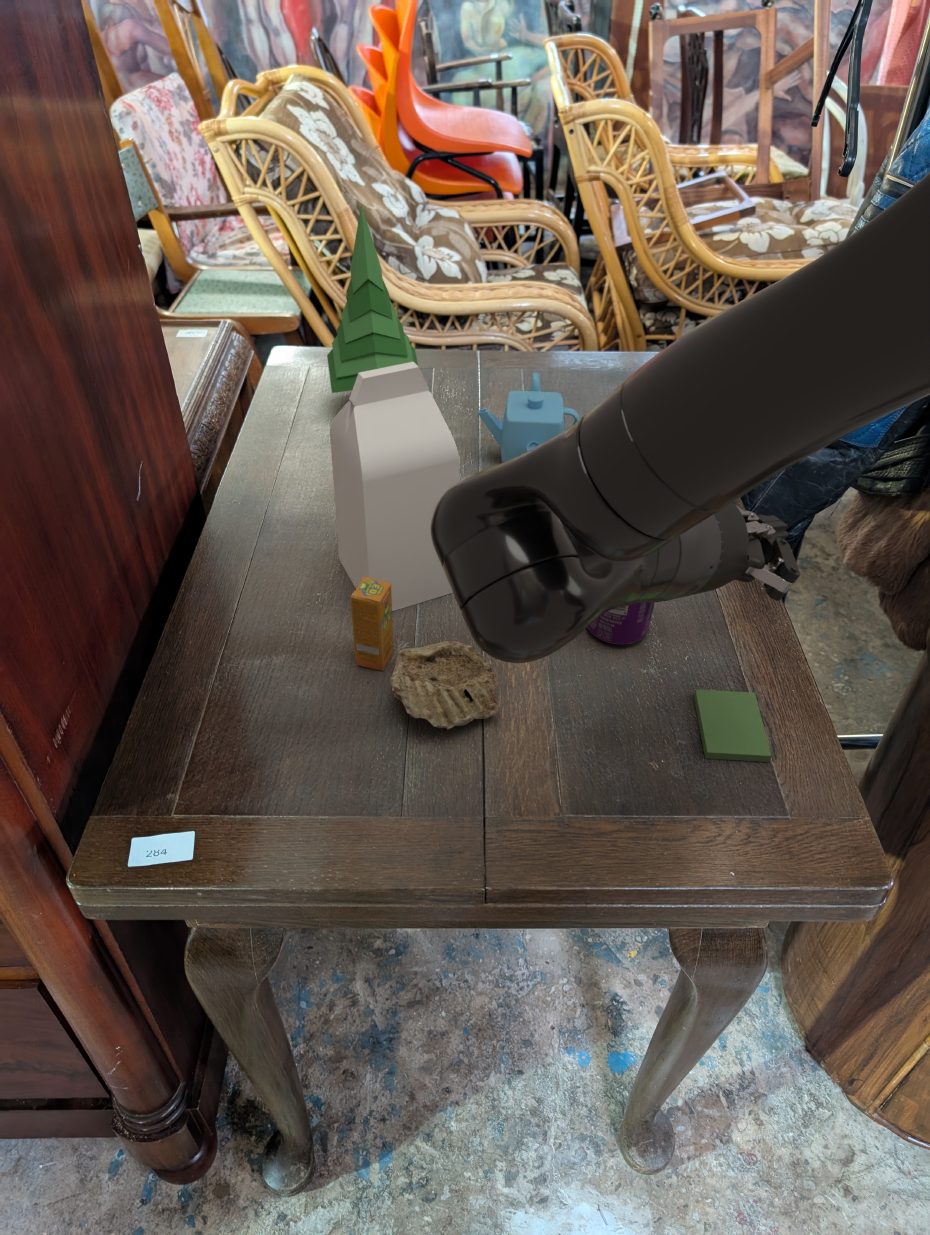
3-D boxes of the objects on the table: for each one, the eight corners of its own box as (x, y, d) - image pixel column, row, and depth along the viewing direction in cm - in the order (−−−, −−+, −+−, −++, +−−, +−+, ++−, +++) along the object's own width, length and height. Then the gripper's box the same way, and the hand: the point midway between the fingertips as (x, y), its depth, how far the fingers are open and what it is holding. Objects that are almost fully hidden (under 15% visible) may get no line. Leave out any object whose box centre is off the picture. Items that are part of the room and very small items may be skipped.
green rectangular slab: (768, 762, 75) (771, 755, 75) (705, 758, 76) (707, 752, 75) (752, 698, 81) (755, 692, 80) (693, 695, 81) (695, 689, 81)
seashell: (490, 752, 80) (509, 659, 83) (493, 736, 73) (514, 636, 77) (381, 728, 80) (405, 638, 84) (375, 710, 74) (401, 613, 78)
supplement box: (385, 673, 84) (379, 602, 77) (355, 666, 84) (346, 595, 78) (396, 651, 86) (391, 581, 79) (367, 645, 87) (359, 574, 80)
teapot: (576, 497, 108) (584, 431, 101) (473, 492, 108) (474, 426, 101) (573, 430, 121) (580, 368, 114) (481, 426, 122) (482, 364, 115)
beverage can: (660, 637, 88) (681, 551, 80) (606, 657, 85) (622, 571, 77) (624, 598, 92) (639, 514, 84) (572, 616, 90) (583, 531, 82)
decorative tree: (351, 383, 132) (331, 184, 111) (439, 399, 128) (435, 195, 108) (312, 421, 122) (283, 211, 102) (406, 439, 119) (395, 225, 98)
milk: (372, 617, 90) (350, 408, 72) (339, 559, 98) (312, 357, 80) (467, 588, 94) (469, 382, 76) (429, 535, 101) (422, 336, 84)
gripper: (776, 561, 49) (870, 543, 62) (629, 444, 56) (741, 448, 68) (708, 648, 53) (809, 615, 66) (578, 530, 60) (692, 519, 72)
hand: (774, 530), depth 67 cm, fingers closed
